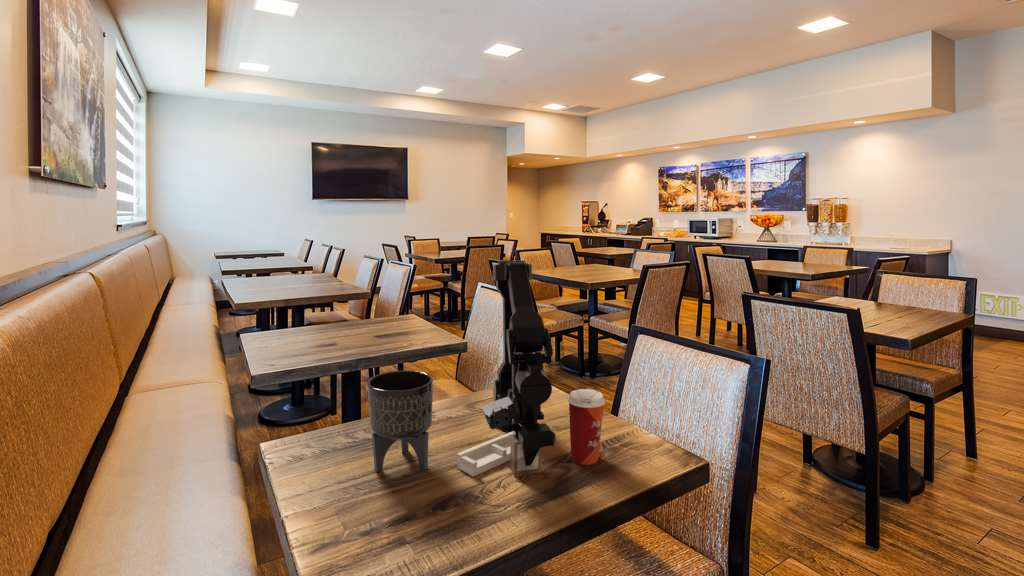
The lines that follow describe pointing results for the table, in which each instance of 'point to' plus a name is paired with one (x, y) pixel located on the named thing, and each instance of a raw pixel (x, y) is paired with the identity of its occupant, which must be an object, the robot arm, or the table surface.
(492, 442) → the white tray base
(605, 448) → the table surface
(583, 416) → the paper cup
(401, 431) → the planter
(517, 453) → the tall taupe pillar block
